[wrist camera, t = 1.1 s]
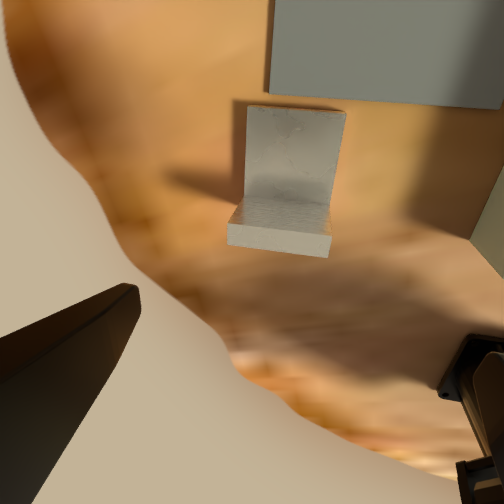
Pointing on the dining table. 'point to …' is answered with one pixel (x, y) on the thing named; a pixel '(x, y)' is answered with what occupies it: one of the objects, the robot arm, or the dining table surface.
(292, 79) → the pad
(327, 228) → the bracket
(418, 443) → the dining table surface
